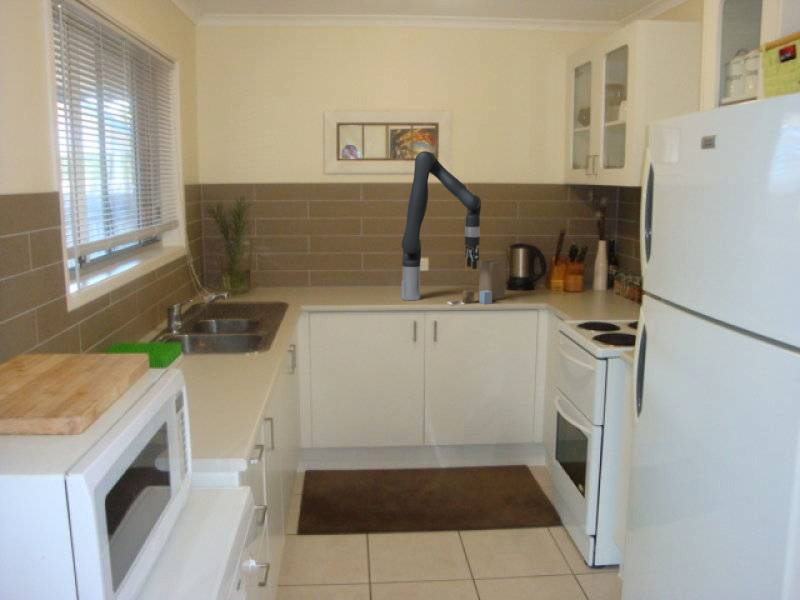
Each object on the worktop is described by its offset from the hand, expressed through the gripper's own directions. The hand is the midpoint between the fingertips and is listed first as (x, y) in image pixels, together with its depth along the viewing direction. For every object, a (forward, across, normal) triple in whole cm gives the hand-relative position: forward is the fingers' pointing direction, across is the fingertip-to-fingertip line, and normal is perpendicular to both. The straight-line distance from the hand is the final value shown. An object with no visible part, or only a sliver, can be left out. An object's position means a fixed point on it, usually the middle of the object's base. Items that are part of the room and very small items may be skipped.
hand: (471, 267), depth 355 cm
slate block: (+17, +5, +6) cm, 19 cm away
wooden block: (+18, -6, +13) cm, 23 cm away
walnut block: (+17, +2, -2) cm, 18 cm away
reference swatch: (+17, +3, -9) cm, 20 cm away
